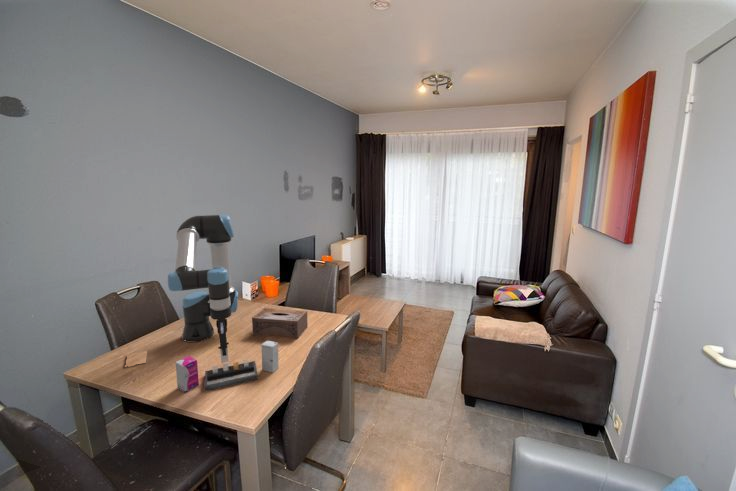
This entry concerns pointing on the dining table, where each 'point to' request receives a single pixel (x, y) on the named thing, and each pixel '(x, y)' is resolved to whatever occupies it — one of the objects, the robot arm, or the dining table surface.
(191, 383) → the supplement box
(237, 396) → the dining table surface
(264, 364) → the skincare box
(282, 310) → the tissue box cover
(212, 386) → the breaker panel
